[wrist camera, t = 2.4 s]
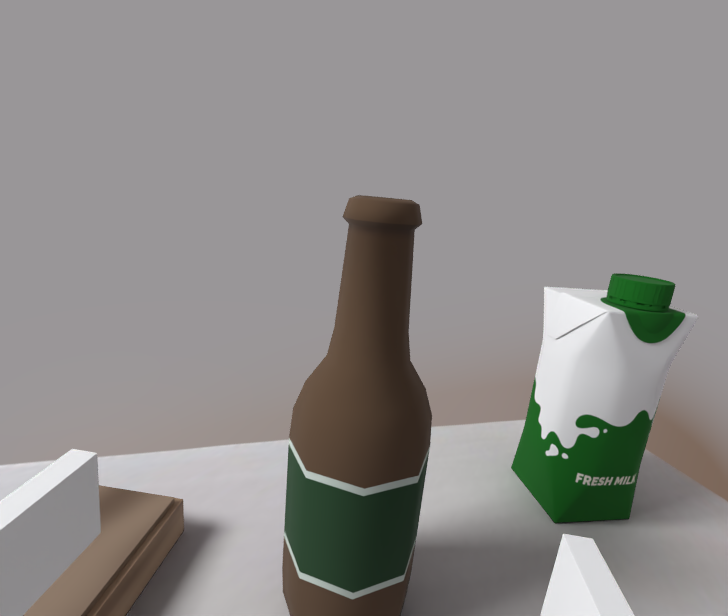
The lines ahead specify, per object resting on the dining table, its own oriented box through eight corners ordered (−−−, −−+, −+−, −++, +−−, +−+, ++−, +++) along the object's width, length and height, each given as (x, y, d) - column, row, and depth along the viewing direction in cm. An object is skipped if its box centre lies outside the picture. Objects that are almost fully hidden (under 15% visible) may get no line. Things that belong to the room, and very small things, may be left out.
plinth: (183, 530, 30) (183, 494, 29) (76, 686, 20) (71, 639, 20) (52, 508, 31) (48, 472, 30) (-111, 649, 21) (-124, 602, 20)
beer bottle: (254, 596, 26) (266, 186, 20) (344, 529, 31) (375, 196, 25) (345, 701, 21) (400, 199, 15) (432, 600, 27) (498, 208, 20)
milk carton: (551, 533, 33) (613, 282, 28) (497, 461, 42) (537, 259, 37) (647, 527, 35) (723, 289, 30) (576, 459, 43) (626, 266, 38)
